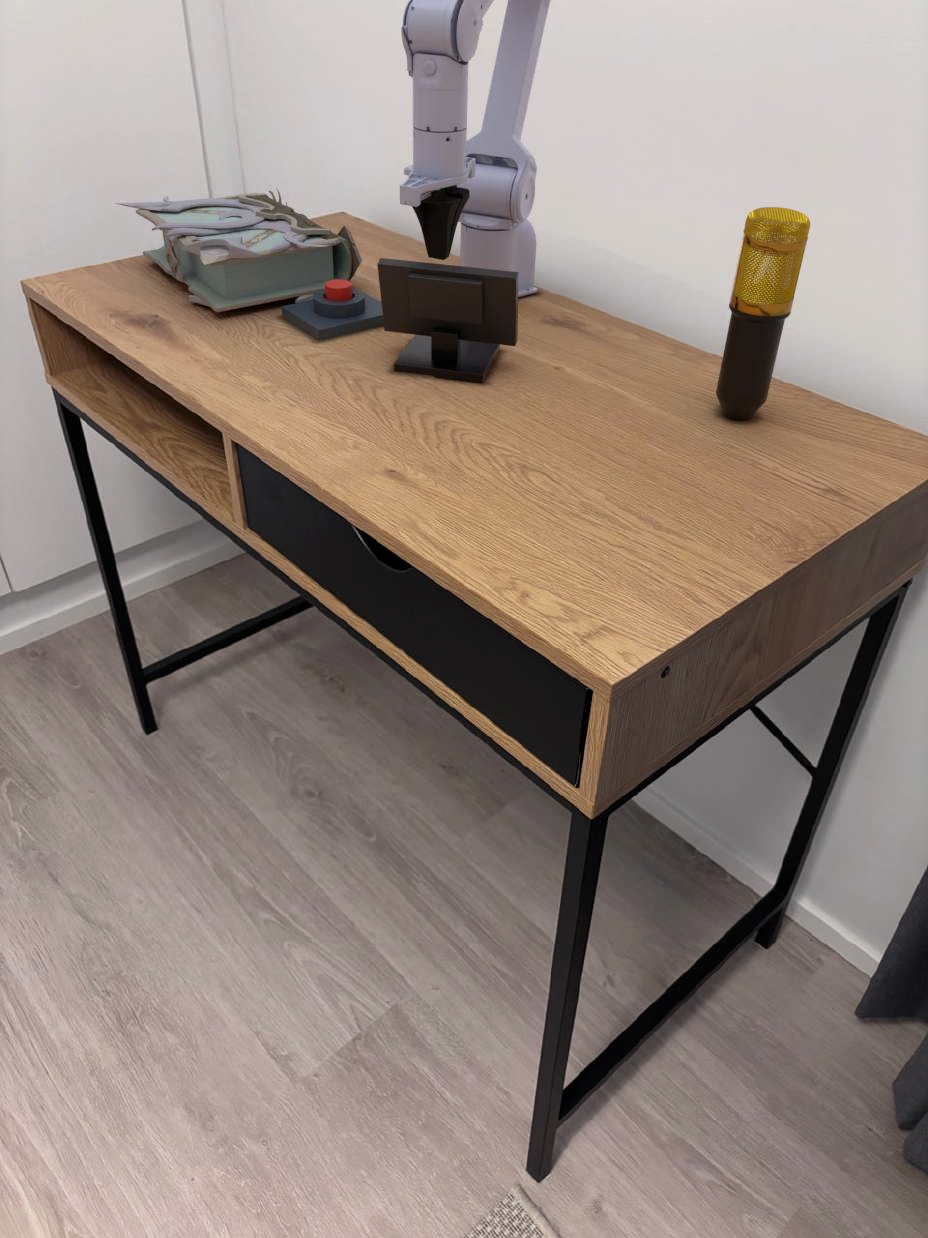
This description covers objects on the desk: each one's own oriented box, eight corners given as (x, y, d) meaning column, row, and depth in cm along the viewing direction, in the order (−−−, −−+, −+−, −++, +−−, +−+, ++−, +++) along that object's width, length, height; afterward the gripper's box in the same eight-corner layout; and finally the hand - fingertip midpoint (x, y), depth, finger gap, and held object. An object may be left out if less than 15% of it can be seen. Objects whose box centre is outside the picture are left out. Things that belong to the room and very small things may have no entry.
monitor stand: (415, 341, 116) (415, 307, 114) (499, 351, 115) (501, 317, 112) (393, 372, 109) (393, 336, 107) (482, 383, 108) (484, 347, 105)
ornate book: (372, 302, 129) (268, 232, 147) (371, 226, 123) (263, 163, 141) (207, 337, 118) (118, 257, 137) (197, 255, 112) (106, 183, 131)
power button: (343, 291, 121) (342, 277, 120) (357, 299, 119) (357, 284, 118) (320, 296, 120) (319, 282, 119) (334, 304, 118) (333, 290, 117)
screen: (387, 324, 113) (380, 256, 106) (517, 339, 110) (518, 271, 104) (382, 335, 112) (374, 267, 105) (513, 350, 109) (514, 282, 103)
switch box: (359, 300, 127) (358, 276, 125) (398, 322, 121) (398, 297, 119) (281, 317, 121) (279, 292, 120) (319, 341, 116) (317, 316, 114)
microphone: (688, 372, 111) (721, 183, 99) (778, 418, 103) (826, 217, 91) (649, 384, 109) (678, 190, 97) (738, 431, 100) (782, 226, 88)
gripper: (436, 110, 112) (435, 234, 120) (372, 135, 102) (376, 269, 110) (494, 117, 110) (489, 243, 118) (434, 143, 99) (433, 280, 107)
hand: (438, 256), depth 114 cm, fingers closed
